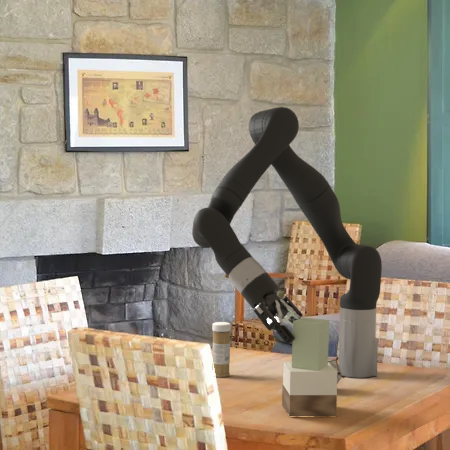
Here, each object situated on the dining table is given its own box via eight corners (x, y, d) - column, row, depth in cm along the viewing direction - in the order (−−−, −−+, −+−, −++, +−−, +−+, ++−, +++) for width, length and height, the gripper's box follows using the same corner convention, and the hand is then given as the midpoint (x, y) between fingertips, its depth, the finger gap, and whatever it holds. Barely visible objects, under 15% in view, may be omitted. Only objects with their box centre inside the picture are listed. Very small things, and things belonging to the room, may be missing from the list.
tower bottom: (326, 406, 213) (327, 384, 213) (336, 418, 203) (336, 394, 203) (282, 406, 212) (282, 384, 212) (289, 418, 202) (290, 395, 202)
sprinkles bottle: (222, 373, 245) (222, 320, 244) (233, 376, 241) (234, 323, 241) (207, 375, 242) (208, 322, 241) (219, 378, 238) (220, 324, 238)
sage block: (291, 367, 206) (293, 321, 205) (301, 362, 211) (303, 317, 211) (317, 370, 203) (319, 323, 203) (327, 365, 209) (329, 319, 208)
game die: (331, 404, 229) (356, 371, 230) (324, 399, 221) (350, 364, 222) (302, 382, 233) (327, 349, 233) (294, 376, 225) (319, 342, 226)
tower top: (327, 384, 213) (328, 362, 212) (336, 395, 203) (337, 371, 203) (283, 384, 212) (283, 362, 212) (289, 395, 202) (290, 371, 202)
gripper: (250, 274, 205) (298, 332, 200) (278, 268, 218) (324, 323, 213) (227, 297, 208) (274, 355, 203) (256, 290, 220) (301, 344, 216)
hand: (299, 338), depth 208 cm, fingers open, 8 cm apart
